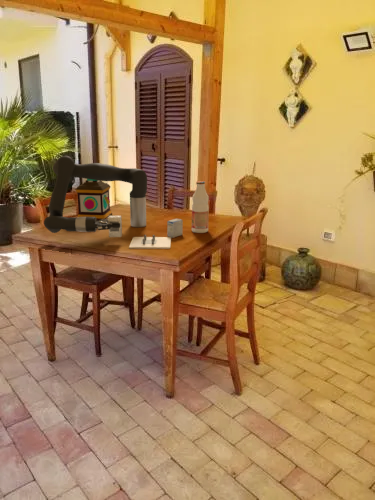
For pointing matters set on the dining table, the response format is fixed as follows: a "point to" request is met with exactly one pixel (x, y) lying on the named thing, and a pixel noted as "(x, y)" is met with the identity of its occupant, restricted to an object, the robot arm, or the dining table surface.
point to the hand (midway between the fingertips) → (120, 224)
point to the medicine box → (174, 228)
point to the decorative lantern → (94, 199)
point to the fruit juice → (200, 209)
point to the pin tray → (150, 242)
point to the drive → (115, 231)
